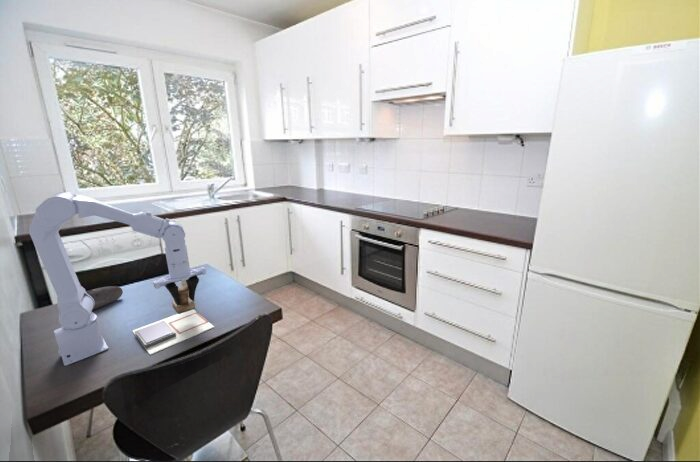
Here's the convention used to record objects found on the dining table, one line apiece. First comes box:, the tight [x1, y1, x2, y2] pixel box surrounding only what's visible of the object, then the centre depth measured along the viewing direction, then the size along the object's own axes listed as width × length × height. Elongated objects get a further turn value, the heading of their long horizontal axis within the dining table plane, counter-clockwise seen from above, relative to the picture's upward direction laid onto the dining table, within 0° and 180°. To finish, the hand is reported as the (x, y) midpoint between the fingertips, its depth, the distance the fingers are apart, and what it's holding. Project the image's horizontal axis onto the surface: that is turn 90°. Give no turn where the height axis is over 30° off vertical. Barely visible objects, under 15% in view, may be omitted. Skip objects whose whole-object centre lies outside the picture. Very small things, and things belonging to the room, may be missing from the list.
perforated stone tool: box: [85, 285, 124, 311], centre depth 113 cm, size 15×5×7 cm, turn 146°
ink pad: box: [134, 321, 176, 350], centre depth 95 cm, size 8×10×1 cm
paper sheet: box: [131, 309, 215, 356], centre depth 98 cm, size 18×17×1 cm
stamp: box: [171, 285, 196, 314], centre depth 100 cm, size 5×5×7 cm
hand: (185, 301), depth 100 cm, fingers closed on stamp, 4 cm apart
